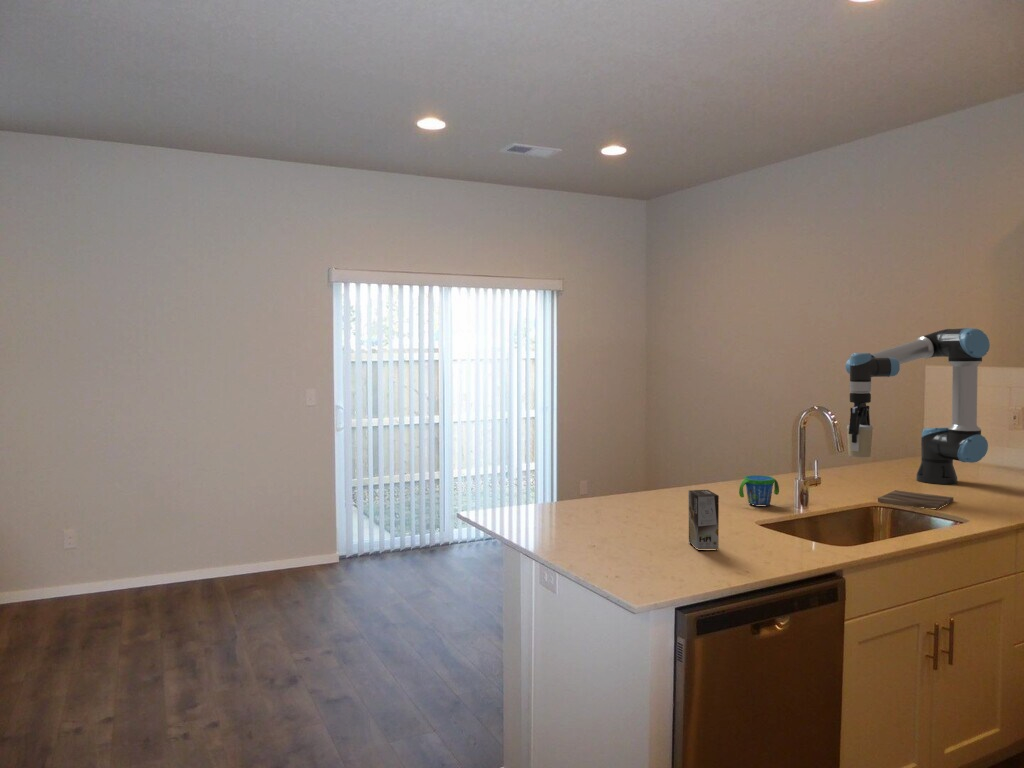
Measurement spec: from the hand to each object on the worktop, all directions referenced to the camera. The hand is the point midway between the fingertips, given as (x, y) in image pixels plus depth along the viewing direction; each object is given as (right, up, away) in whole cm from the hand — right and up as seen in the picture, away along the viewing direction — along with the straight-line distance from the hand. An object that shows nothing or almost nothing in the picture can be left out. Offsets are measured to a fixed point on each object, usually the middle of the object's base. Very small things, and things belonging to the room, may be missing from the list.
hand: (859, 449), depth 287 cm
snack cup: (-46, -19, -18) cm, 53 cm away
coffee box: (-81, -22, -74) cm, 112 cm away
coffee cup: (0, -3, 0) cm, 3 cm away
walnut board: (+14, -18, -15) cm, 27 cm away
